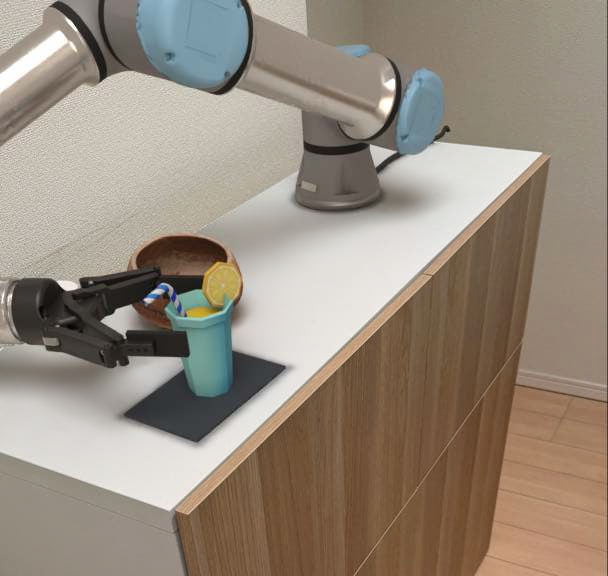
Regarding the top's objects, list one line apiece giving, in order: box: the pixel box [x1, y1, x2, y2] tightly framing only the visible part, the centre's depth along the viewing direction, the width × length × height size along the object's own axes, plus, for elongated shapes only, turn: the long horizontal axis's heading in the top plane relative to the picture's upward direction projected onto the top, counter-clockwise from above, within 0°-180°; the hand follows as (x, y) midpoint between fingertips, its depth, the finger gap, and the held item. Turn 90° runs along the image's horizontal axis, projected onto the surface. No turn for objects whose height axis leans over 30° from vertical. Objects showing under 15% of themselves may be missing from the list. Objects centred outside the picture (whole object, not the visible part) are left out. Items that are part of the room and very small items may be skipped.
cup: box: [142, 262, 243, 397], centre depth 88 cm, size 14×8×15 cm, turn 145°
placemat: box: [123, 350, 287, 443], centre depth 94 cm, size 18×11×1 cm, turn 148°
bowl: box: [126, 232, 244, 331], centre depth 104 cm, size 16×16×10 cm
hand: (202, 314), depth 87 cm, fingers open, 13 cm apart
